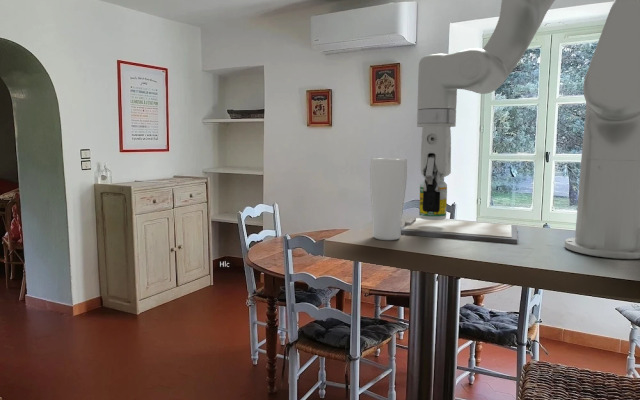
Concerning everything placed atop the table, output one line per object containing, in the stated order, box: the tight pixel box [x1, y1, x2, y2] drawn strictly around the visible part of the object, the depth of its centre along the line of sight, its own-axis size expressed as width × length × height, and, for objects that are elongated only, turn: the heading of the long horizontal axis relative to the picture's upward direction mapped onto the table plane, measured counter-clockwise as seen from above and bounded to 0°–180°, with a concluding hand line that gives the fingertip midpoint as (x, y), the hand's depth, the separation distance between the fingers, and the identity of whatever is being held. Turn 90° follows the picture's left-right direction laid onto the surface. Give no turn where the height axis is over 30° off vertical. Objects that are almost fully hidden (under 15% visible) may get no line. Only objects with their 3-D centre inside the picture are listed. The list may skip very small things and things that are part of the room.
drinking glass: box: [369, 157, 408, 241], centre depth 90 cm, size 7×7×15 cm
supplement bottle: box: [418, 171, 448, 220], centre depth 97 cm, size 5×5×10 cm
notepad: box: [401, 217, 518, 245], centre depth 98 cm, size 22×16×2 cm
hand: (433, 208), depth 97 cm, fingers closed on supplement bottle, 5 cm apart
